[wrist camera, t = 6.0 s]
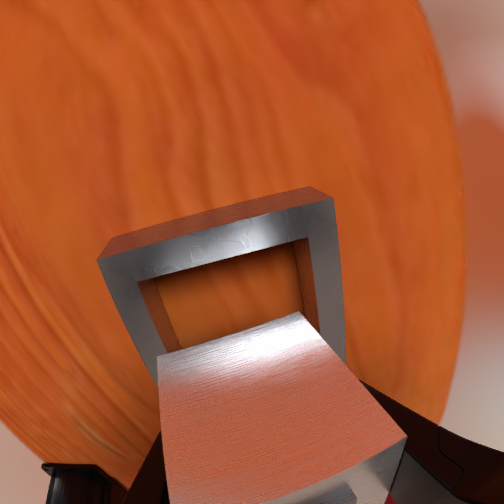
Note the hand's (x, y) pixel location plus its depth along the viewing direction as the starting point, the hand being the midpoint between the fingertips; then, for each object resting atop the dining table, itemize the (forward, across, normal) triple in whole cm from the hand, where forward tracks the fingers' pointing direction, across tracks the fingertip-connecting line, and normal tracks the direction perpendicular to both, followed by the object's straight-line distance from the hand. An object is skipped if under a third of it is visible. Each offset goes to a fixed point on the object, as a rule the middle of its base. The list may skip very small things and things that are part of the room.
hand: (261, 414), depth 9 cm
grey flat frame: (+7, 0, +4) cm, 8 cm away
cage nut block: (+2, 0, +1) cm, 3 cm away
